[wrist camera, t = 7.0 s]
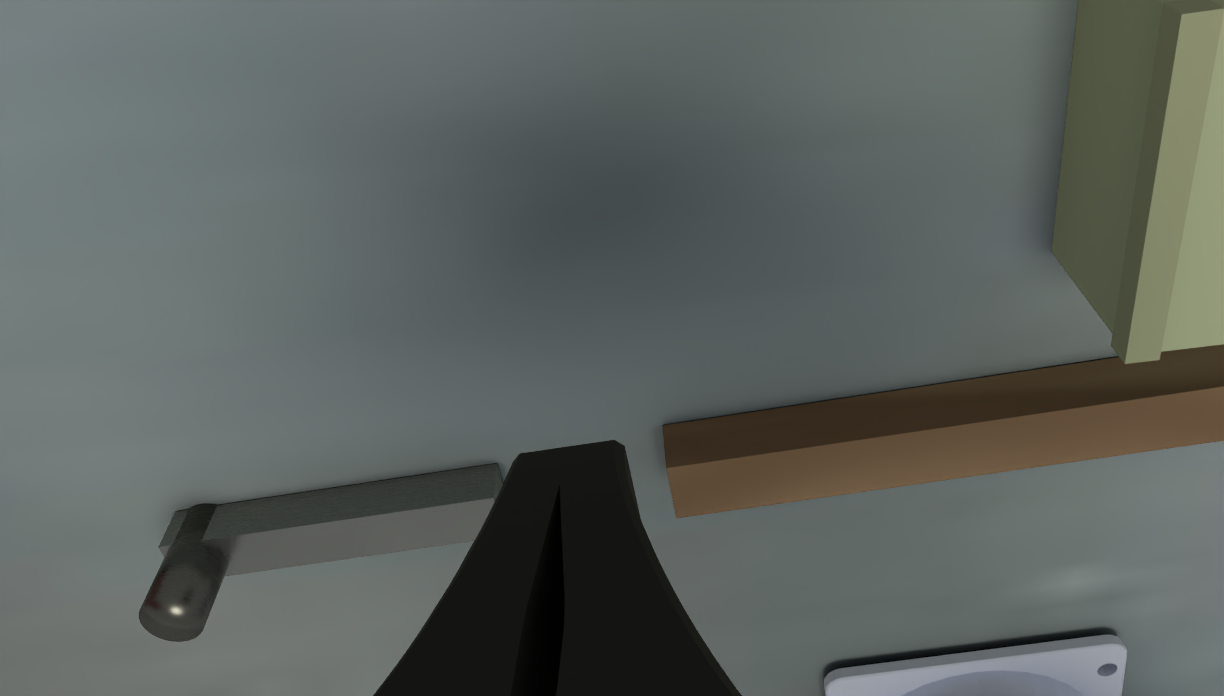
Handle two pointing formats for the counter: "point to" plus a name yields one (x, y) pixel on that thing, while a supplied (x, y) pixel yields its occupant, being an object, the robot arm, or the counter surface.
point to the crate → (1146, 172)
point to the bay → (946, 431)
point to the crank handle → (307, 536)
